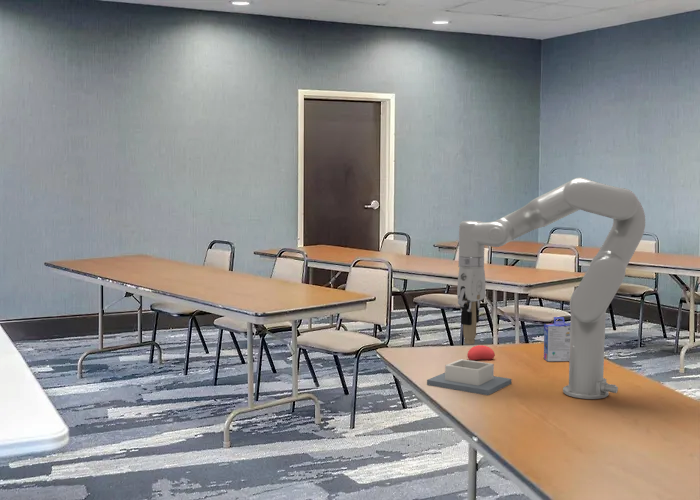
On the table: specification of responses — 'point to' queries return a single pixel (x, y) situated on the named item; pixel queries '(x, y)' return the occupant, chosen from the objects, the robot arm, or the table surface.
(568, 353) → the ink cartridge box
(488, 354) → the red bean shape
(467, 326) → the handle
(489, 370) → the socket
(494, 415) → the table surface
